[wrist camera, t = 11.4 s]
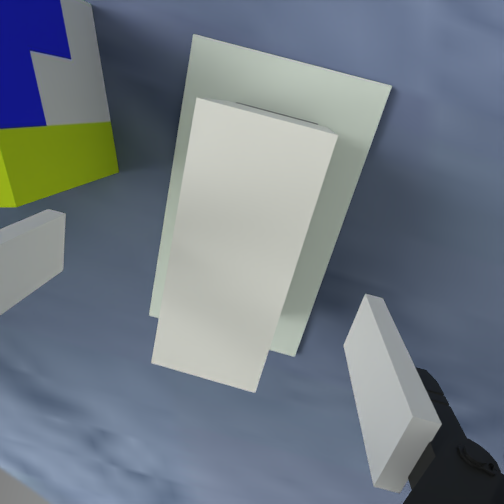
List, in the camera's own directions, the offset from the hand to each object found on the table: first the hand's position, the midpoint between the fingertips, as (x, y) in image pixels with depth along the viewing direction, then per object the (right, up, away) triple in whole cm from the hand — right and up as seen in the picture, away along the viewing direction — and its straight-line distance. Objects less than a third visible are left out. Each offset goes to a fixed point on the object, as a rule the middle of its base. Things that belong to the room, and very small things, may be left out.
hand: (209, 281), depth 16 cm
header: (+2, +4, +10) cm, 11 cm away
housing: (+2, +3, +8) cm, 9 cm away
